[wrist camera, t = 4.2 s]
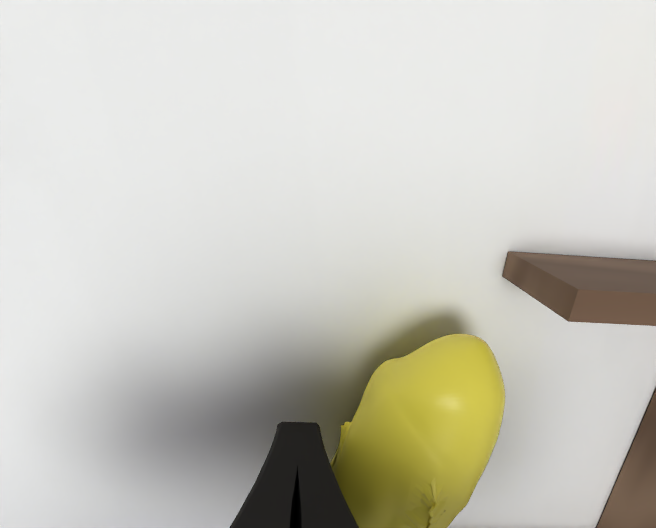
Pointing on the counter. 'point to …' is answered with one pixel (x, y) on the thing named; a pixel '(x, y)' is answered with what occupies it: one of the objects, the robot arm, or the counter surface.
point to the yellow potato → (421, 435)
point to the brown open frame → (615, 308)
